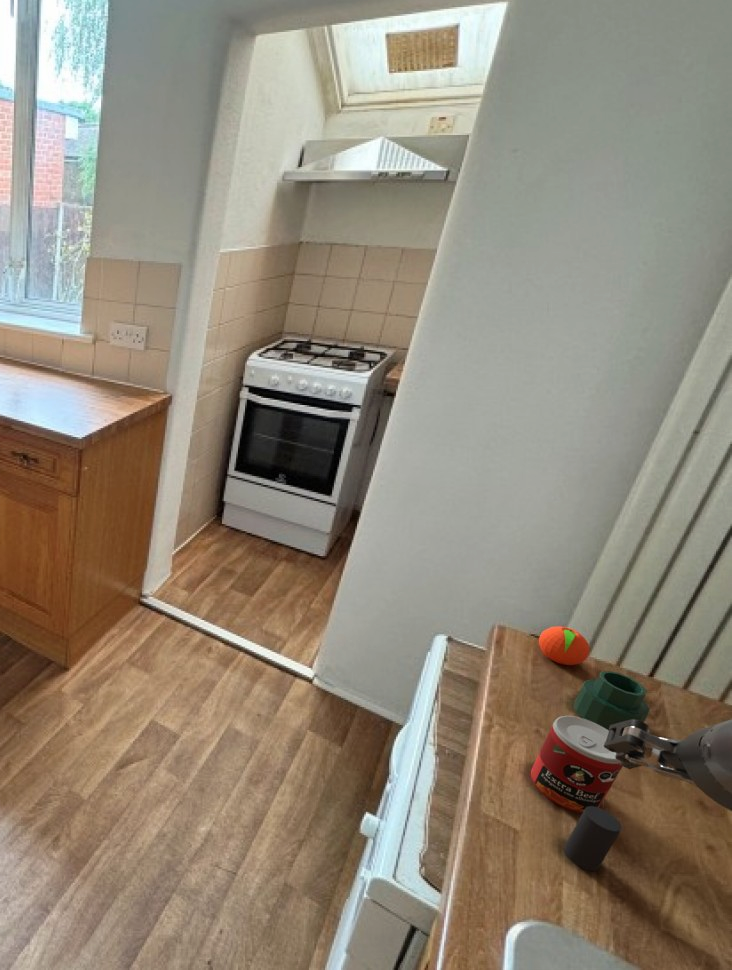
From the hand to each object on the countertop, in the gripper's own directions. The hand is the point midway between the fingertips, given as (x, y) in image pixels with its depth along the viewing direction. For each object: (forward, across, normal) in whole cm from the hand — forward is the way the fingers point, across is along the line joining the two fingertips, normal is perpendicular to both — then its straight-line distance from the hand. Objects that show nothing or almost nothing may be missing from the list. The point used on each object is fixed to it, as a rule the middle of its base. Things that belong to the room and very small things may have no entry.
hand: (682, 783), depth 63 cm
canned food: (+33, +2, 0) cm, 33 cm away
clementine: (+56, +4, -27) cm, 63 cm away
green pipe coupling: (+48, -3, -18) cm, 51 cm away
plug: (+25, 0, +9) cm, 26 cm away
